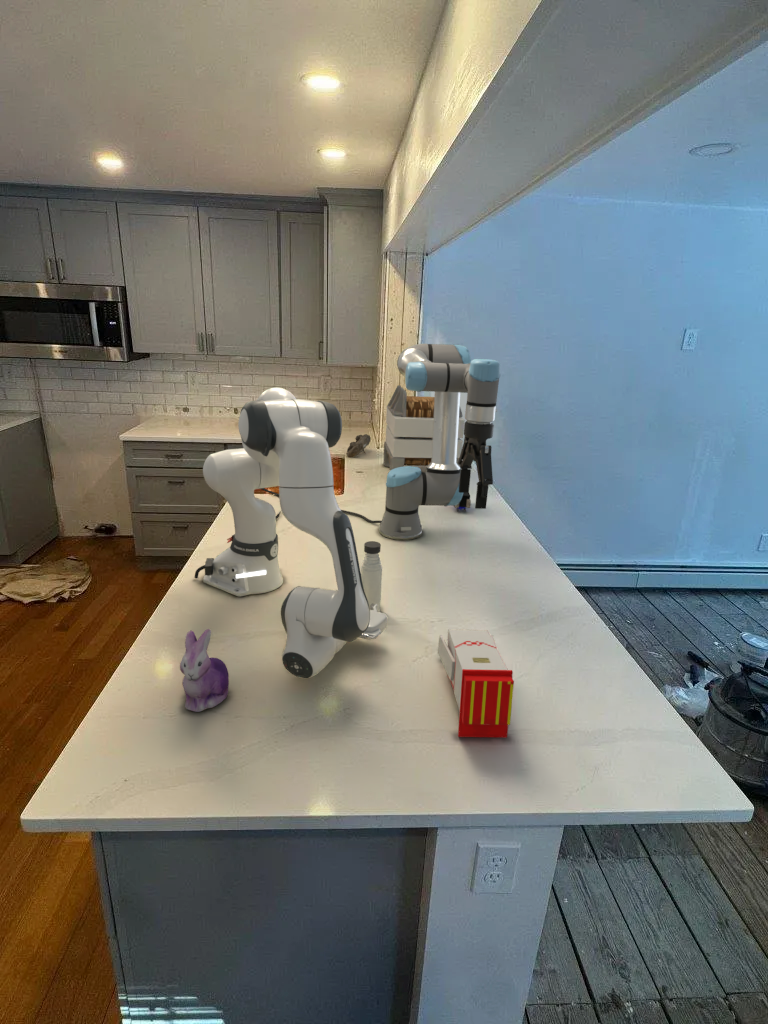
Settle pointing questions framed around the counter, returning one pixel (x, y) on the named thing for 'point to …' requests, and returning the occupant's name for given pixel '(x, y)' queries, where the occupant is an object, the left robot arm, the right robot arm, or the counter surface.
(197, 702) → the figurine
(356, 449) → the fossil
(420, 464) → the gray slatted crate
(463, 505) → the figurine character
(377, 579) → the bottle
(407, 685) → the counter surface
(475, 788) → the counter surface
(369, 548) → the cap
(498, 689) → the toy
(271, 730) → the counter surface
